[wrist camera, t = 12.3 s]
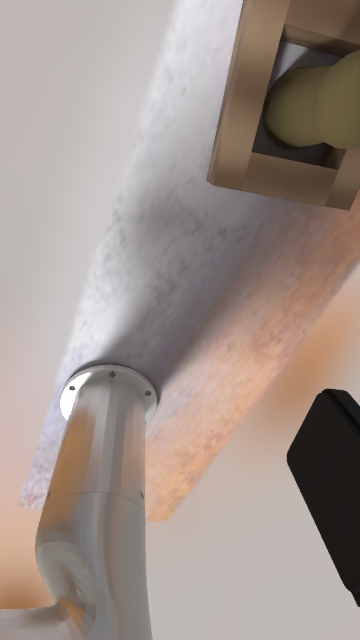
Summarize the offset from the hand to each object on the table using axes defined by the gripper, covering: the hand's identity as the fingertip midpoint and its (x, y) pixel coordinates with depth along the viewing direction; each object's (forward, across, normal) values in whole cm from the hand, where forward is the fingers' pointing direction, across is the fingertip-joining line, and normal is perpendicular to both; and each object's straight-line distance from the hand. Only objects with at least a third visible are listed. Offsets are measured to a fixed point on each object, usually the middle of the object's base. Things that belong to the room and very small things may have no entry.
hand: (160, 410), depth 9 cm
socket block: (+25, -11, -12) cm, 30 cm away
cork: (+25, -11, -12) cm, 30 cm away
